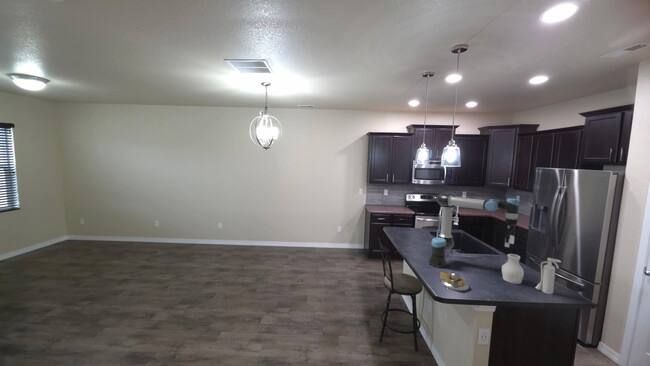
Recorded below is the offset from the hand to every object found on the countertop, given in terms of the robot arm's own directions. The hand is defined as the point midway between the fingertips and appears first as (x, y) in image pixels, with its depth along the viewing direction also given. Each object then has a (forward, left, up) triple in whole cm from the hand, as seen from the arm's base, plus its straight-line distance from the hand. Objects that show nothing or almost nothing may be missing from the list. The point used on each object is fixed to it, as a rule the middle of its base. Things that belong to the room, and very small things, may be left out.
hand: (509, 245), depth 200 cm
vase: (+3, +3, -28) cm, 28 cm away
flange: (-22, -43, -28) cm, 56 cm away
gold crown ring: (-24, -43, -26) cm, 56 cm away
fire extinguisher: (+24, 0, -28) cm, 37 cm away
